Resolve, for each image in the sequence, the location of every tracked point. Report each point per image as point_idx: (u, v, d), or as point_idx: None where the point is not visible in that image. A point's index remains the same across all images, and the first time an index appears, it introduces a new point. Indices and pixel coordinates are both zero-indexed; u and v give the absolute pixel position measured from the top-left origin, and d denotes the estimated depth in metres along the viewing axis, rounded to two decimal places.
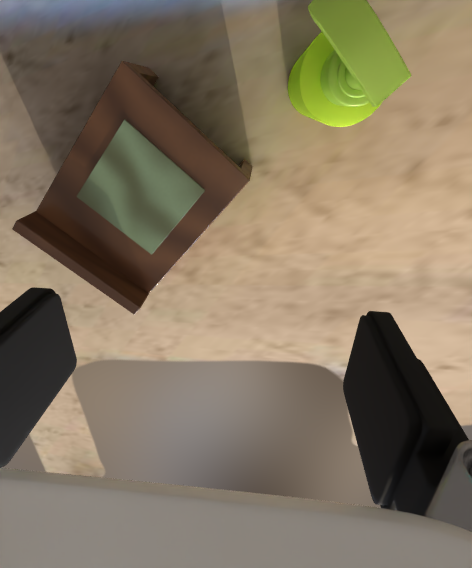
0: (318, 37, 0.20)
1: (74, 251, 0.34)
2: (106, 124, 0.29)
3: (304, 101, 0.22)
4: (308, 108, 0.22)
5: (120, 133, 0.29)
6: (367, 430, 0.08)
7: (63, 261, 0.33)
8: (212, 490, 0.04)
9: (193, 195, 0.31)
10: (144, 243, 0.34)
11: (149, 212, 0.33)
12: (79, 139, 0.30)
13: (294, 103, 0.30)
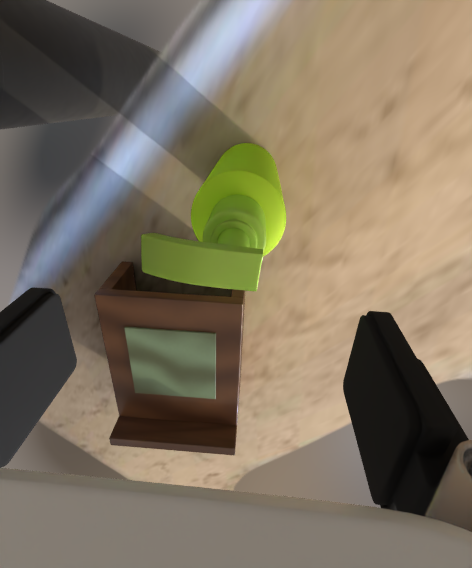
0: (192, 214, 0.20)
1: (160, 432, 0.38)
2: (116, 337, 0.33)
3: None
4: None
5: (129, 337, 0.33)
6: (367, 430, 0.08)
7: (157, 446, 0.37)
8: (212, 490, 0.04)
9: (210, 342, 0.33)
10: (203, 394, 0.36)
11: (190, 372, 0.35)
12: (108, 357, 0.35)
13: None
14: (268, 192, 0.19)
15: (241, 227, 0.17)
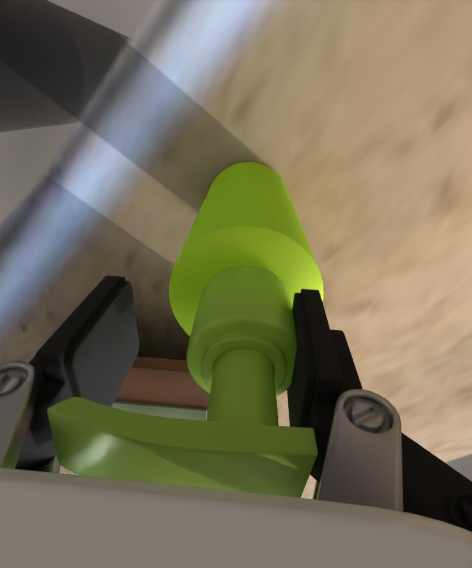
0: (171, 291, 0.13)
1: None
2: None
3: None
4: None
5: None
6: (292, 393, 0.09)
7: None
8: (212, 490, 0.04)
9: None
10: None
11: None
12: None
13: None
14: (296, 260, 0.12)
15: (258, 347, 0.09)
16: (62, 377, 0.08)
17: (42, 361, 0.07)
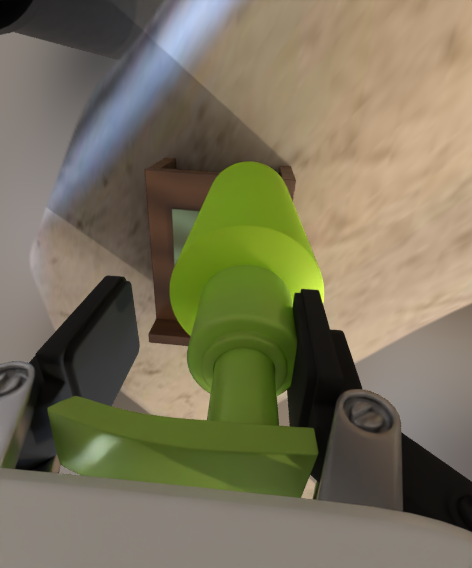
0: (172, 291, 0.13)
1: None
2: (162, 222, 0.33)
3: None
4: None
5: (175, 221, 0.33)
6: (292, 393, 0.09)
7: None
8: (212, 490, 0.04)
9: None
10: None
11: None
12: (152, 246, 0.34)
13: None
14: (297, 260, 0.12)
15: (259, 347, 0.09)
16: (62, 377, 0.08)
17: (42, 361, 0.07)
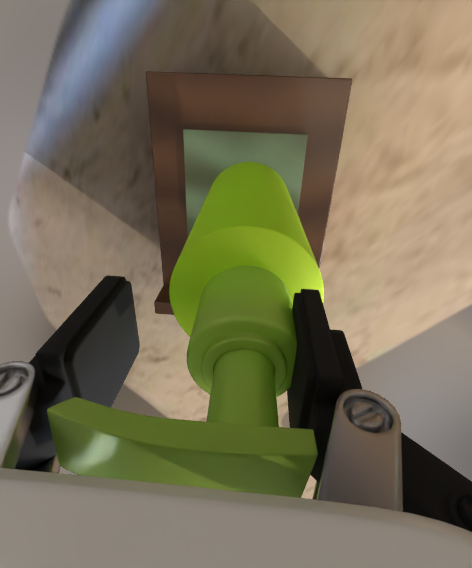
0: (171, 292, 0.13)
1: None
2: (170, 149, 0.25)
3: None
4: None
5: (188, 147, 0.25)
6: (292, 393, 0.09)
7: None
8: (212, 490, 0.04)
9: (298, 150, 0.24)
10: None
11: None
12: (157, 185, 0.26)
13: None
14: (297, 260, 0.12)
15: (259, 348, 0.09)
16: (62, 377, 0.08)
17: (42, 361, 0.07)
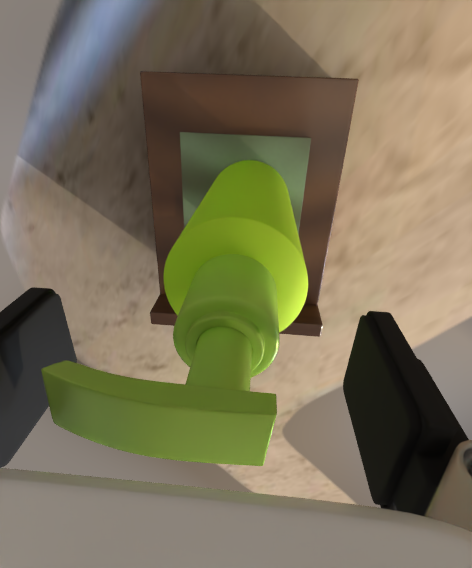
0: (165, 279, 0.13)
1: None
2: (167, 153, 0.24)
3: None
4: None
5: (185, 150, 0.23)
6: (367, 430, 0.08)
7: None
8: (212, 490, 0.04)
9: (301, 154, 0.23)
10: None
11: None
12: (153, 191, 0.25)
13: None
14: (281, 250, 0.12)
15: (237, 326, 0.10)
16: None
17: None
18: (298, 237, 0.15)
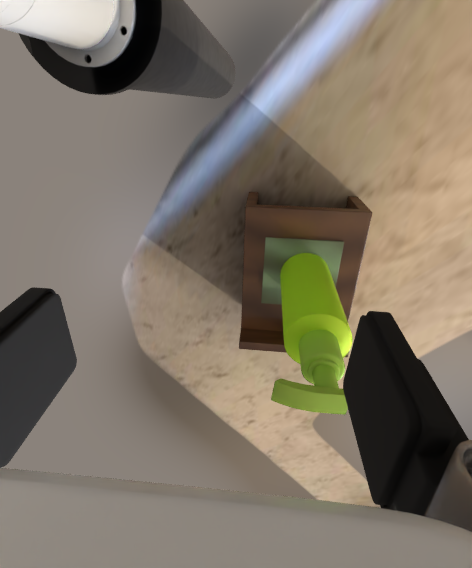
0: (285, 338, 0.29)
1: (281, 338, 0.43)
2: (256, 248, 0.40)
3: None
4: None
5: (267, 247, 0.39)
6: (367, 430, 0.08)
7: (280, 349, 0.43)
8: (212, 490, 0.04)
9: (337, 250, 0.39)
10: None
11: None
12: (244, 268, 0.41)
13: None
14: (341, 327, 0.28)
15: (330, 364, 0.25)
16: None
17: None
18: None
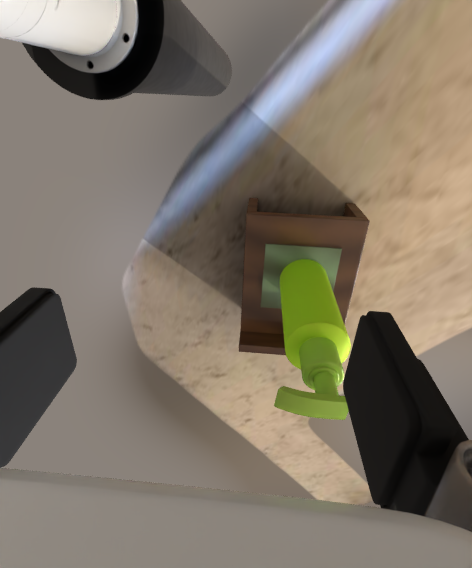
0: (286, 344, 0.30)
1: (279, 341, 0.45)
2: (256, 254, 0.41)
3: None
4: None
5: (267, 253, 0.40)
6: (367, 430, 0.08)
7: (278, 352, 0.44)
8: (212, 490, 0.04)
9: (335, 257, 0.40)
10: None
11: None
12: (245, 273, 0.42)
13: None
14: (340, 335, 0.29)
15: (330, 371, 0.26)
16: None
17: None
18: None
